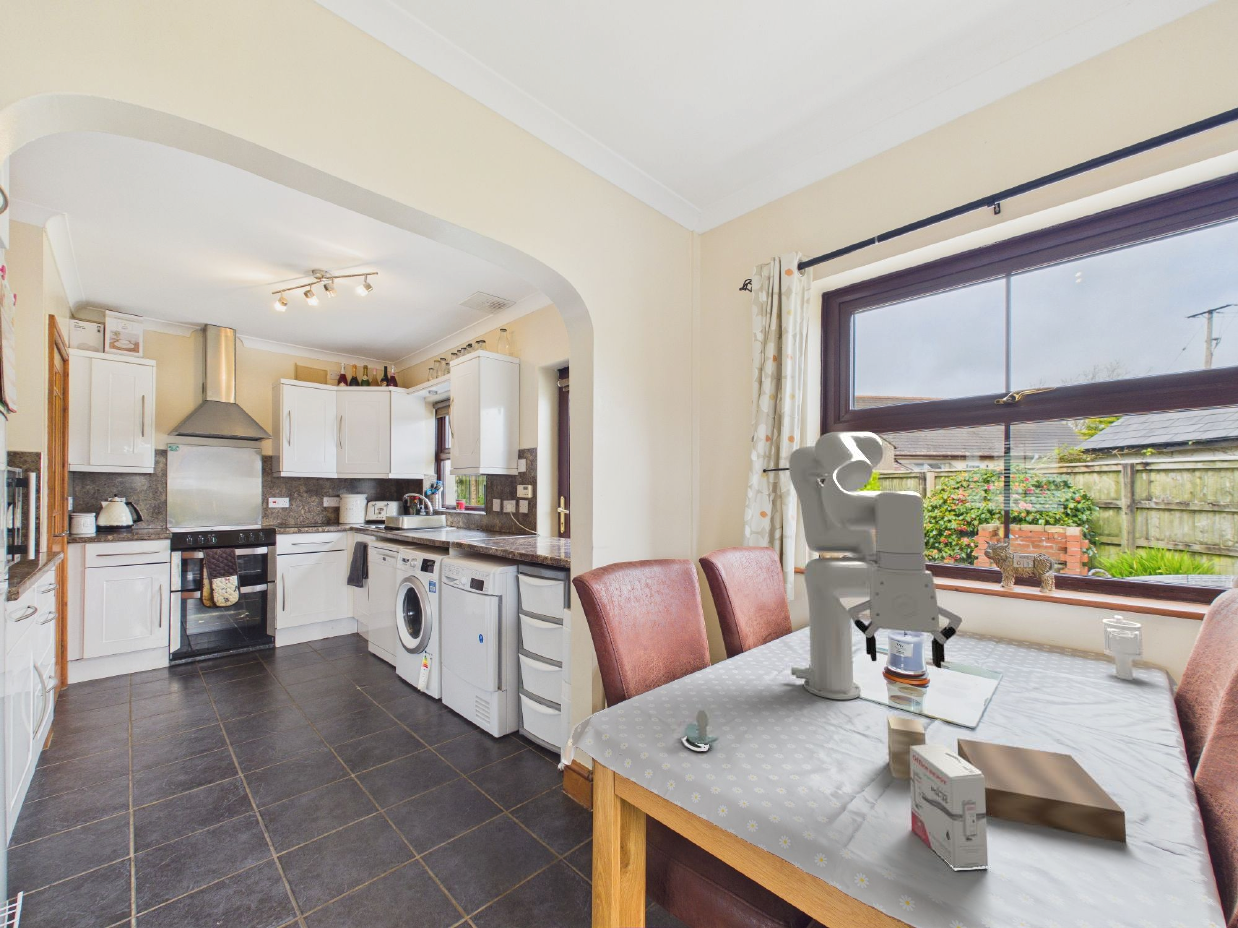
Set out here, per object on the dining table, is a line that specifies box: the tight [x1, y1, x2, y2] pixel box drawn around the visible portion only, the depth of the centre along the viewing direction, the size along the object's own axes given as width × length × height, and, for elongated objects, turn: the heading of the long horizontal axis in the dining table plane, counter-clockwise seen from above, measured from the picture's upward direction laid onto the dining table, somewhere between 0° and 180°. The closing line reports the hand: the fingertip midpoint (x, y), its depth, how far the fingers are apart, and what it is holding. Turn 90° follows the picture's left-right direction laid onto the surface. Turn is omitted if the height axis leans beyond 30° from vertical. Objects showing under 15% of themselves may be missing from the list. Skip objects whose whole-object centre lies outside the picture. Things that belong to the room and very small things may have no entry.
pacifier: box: [684, 709, 720, 748], centre depth 96 cm, size 7×6×6 cm
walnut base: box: [956, 737, 1127, 843], centre depth 80 cm, size 16×16×4 cm
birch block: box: [887, 715, 927, 781], centre depth 87 cm, size 5×5×8 cm
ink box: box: [910, 743, 989, 868], centre depth 68 cm, size 9×5×12 cm, turn 5°
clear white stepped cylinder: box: [1102, 615, 1144, 681], centre depth 130 cm, size 7×7×15 cm
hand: (904, 662), depth 87 cm, fingers open, 9 cm apart
